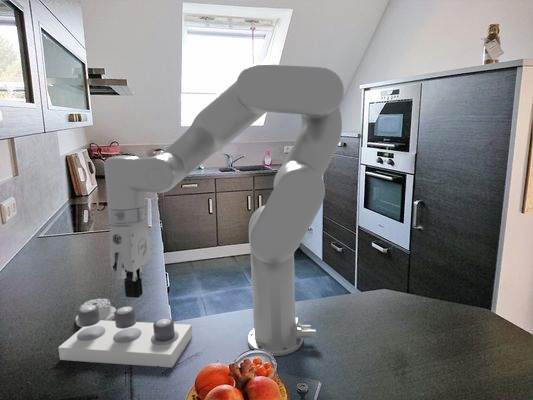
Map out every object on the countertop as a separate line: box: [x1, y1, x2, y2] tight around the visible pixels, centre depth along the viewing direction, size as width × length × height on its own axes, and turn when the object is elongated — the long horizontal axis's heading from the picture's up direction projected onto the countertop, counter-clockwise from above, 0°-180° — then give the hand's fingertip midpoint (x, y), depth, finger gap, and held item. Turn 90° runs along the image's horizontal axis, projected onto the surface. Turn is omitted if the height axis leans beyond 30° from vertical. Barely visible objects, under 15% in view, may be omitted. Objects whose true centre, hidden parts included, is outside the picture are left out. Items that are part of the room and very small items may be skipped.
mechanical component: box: [75, 297, 117, 328], centre depth 101 cm, size 10×4×10 cm
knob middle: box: [114, 306, 137, 329], centre depth 86 cm, size 4×4×3 cm
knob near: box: [153, 318, 175, 341], centre depth 85 cm, size 4×4×3 cm
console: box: [58, 320, 193, 368], centre depth 87 cm, size 26×12×3 cm, turn 81°
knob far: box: [77, 305, 100, 327], centre depth 88 cm, size 4×4×3 cm
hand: (134, 295), depth 84 cm, fingers closed
